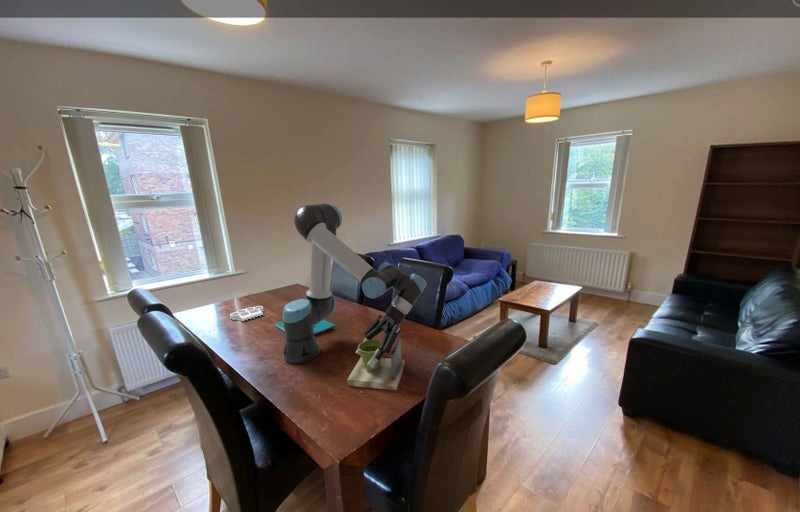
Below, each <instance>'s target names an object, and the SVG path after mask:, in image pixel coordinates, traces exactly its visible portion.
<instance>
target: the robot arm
mask: <svg viewBox="0 0 800 512" xmlns="http://www.w3.org/2000/svg"><path fill="white" fill-rule="evenodd" d="M293 220H294V227H295V229H296V230H297V232H298V233H299V234H300V236H301V237H302V238H303V239H304V240H306V241H307V242H308V243H310V244H311V253H310V254H311V255H310V271H309V272H310V275H309V276H310V277H309V289H307V290H306V292H305V298H301V299H300V298H299V299H295V300H292V301H289V302H287V304H285V306H283V308H282V321H283V327H284V328H283V329H284V336H285V344H284V347H283V352H282V355H283V360H284V361H285V362H286V363H289V364H293V365H294V364H303V363H307V362H311V361H313V360H314V359H316V358H317V357H318V356H319V354H320V352H321V351H320V345H319V343H318V341H317V339H316V336H315V333H314V326H316V325H317V324H318V323H320V322H322V321H324V320H325V319H327V318H329V317H330V316H331V315H332V314H333V313H334V312H335V310H336V307H337V300H336V298H334V297H335V296H334V295H333V291H332V290H331V289H330V279H331V266H332V264H331V263H332V262H331V261H332V260H333V261H334V262H335V263H336V264H337V265H338V266H340V267H341V268H342V269H343V270H344V271H345V272H346V273H347V274H349V275H350V276H351V277H352V278H353V279H354V280H355V281H357V282H358V283H359V284H360V285H361V290H362V292H363V295H364V296H366V297H367V298H369V299H377V298H379V297H381V296H382V295H384V294H385V293H386V292H387V291H389V290H391V289H394V290H395V291H396V292H398V293H397V294H396V296H395V297H394V298H393V300H392V301H391V305H389V306H387V308H386V310H385V316H382V315H380V314H378V316H377V318H376V319H375V320H374V321H373V323H372V324H371V325H370V326H369V327H368V328H367V329H366V330H365V331H364V332H363V334H364V338H363V340H362V342H364V341H367V340H373V339H374V338H375V337H377V335H379V334H380V333H381V332H384V333H383V336H382V340H381V342H382V343H381V346H380V347H379V348H378V349H377V350H376V352H375V353H374V355H373V356H372V357H371V359H370V360H369V362H368V363H367V364H368V365H369V366H371V367H374V366H375V364H376V363H377V361H378V360H380V358H383V355H384V354H385V353H387V354H389V353H390V352H392V349H393V347H394V345H395V343H396V341H397V339H398V335H399V334H400V333H401V332H402V328H400V327H399V324H402V323H403V321H404V320H405V318H406V315H408V313H409V312H410V311H411V309H412V308H413V307H414V305H415V303H416V302H417V301H418V299H419V298H420V296H421V295H422V293H423V292H424V290H425V288H426V287H427V281H426V279H424V278H423V277H422V276H421V275H418V274H417V273H415V272H413V273H411V274H410V275H408V274H406V272H403V271H402V270H401V269H399V268H398V267H396V266H395V265H394V264H391V263H390V262H388V261H385V262H383V263H382V264H381V265H380V266H379V267H378V269H377V270H376V269H375V268H374V267H373V266H371V265H370V264H369V263H368V262H367V261H366V260H365V259H363V258H362V257H361V256H360V255H358V253H356V252H355V251H354V250H353V249H352V248H351V247H349V246H348V245H347V244H346V243H345V242H343V241H342V240H341V239H340V238H339V237H338V236H337V229H339V227H340V226H341V225H342V222H343V215H342V212H341V211H340V210H339V209H338V207H337V206H336V205H334V204H332V203H315V204H307V205H303V206H301V207H299V209H298V210H297V211H296V213H295V214H294V219H293ZM355 354H357V355H359V356H360V357H361V356H362V355H361V353H360V350H359V349H358V348H357V349H356V351H355ZM390 354H391V353H390Z"/></svg>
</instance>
